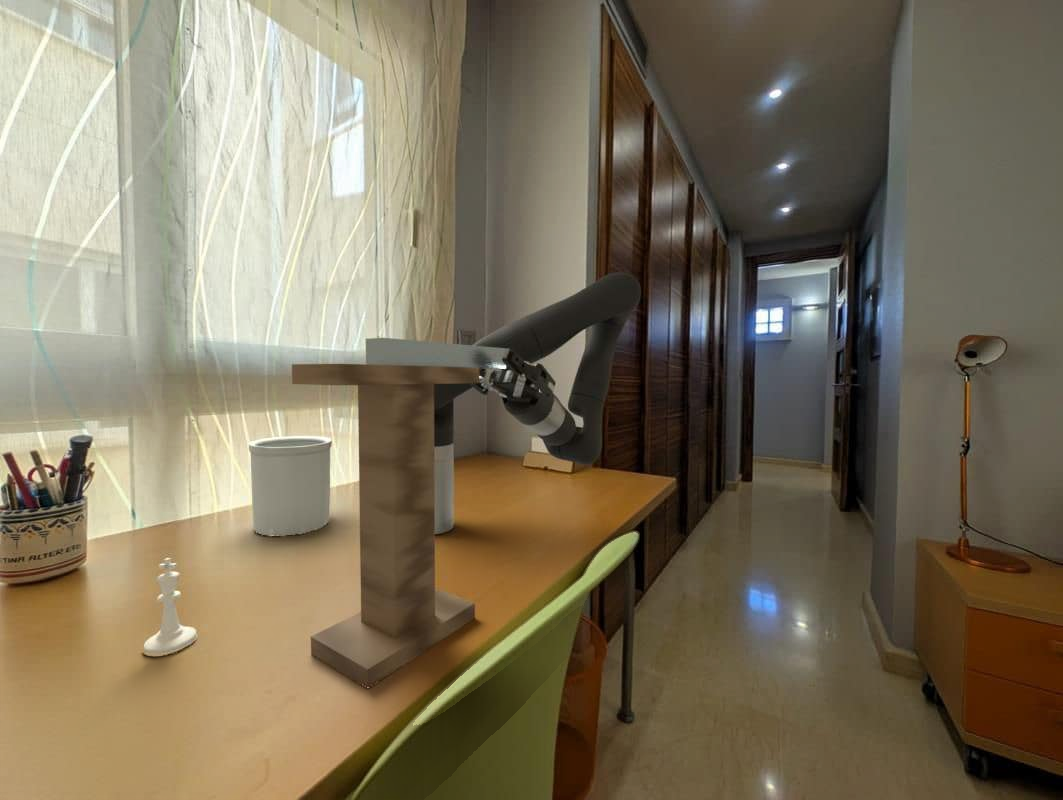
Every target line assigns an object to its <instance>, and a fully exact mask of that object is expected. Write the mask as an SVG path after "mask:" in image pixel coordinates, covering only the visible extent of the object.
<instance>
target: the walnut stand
mask: <svg viewBox="0 0 1063 800" xmlns="http://www.w3.org/2000/svg"><path fill="white" fill-rule="evenodd" d="M291 383H292V385H310V386H313V385H315V386H316V385H317V386H357V406H358V407H357V408H358V410H357V412H358V413H357V416H358V417H357V419H358V421H357V422H358V423H357V424H358V481H359V482H358V483H359V484H358V487H359V490H358V491H359V495H358V496H359V498H358V499H359V500H358V501H359V547H360V548H359V557H360V558H359V559H360V560H359V563H360V565H359V566H360V612H358V613H355V614H353V615H352V616H350V617H348V618H346V619H344V620H342V621H339V622H338V623H336V624H334V625H333V624H332V625H331V626H330V627H328V628H327V627H326V629H324V630H320V631H318V632H317V633H315V634H313V635H311V636H310V655H312V656H313V657H315V658H317V660H320V661H322V662H323V663H325V664H326V665H329V667H331V668H333V669H335V670H336V671H338V672H339V673H341V674H343V675H344V676H346V677H347V676H348V677H347V678H349V677H350V679H351V680H352V679H354V680H355V681H354V680H353V681H354V682H356V681H357V682H359V683H361V684H363V685H364V686H366V687H370V686H371V685H373V684H375V683H376V682H378V681H379V682H381V681H382V680H384V679H385V678H384V677H386V676H387V677H389V676H390V675H391V673H392V674H393V673H395V672H396V671H398V670H399V669H401V668H402V667H403V666H406V665H407V664H408V663H410V662H412V661H413V660H414V659H416V658H417V657H419V656H420V655H422V654H423V653H425V652H426V651H427V650H429V649H430V648H432V647H434V646H435V645H437V644H438V643H440V642H441V641H443V640H444V639H446V638H447V637H448V636H451V635H452V634H453V633H455V632H456V631H458V630H460V629H461V628H462V627H464V626H465V625H467V624H468V623H470V622H472V621H473V620H474V619H475V618H476V602H473V601H470V600H468V599H465V598H462V597H461V596H457V595H456V594H451V593H449V592H447V591H444V590H441V589H438V588H436V565H435V564H436V562H435V561H436V559H435V558H436V553H435V552H436V551H435V549H436V548H435V547H436V546H435V545H436V541H435V540H436V538H435V537H436V534H435V494H434V384H457V383H479V368H475V367H438V366H402V365H366V363H365V364H363V363H361V364H359V363H311V364H310V363H308V364H307V363H306V364H304V363H301V364H300V363H298V364H295V363H294V364H293V363H292V364H291ZM406 663H407V664H406ZM401 666H402V667H401ZM400 667H401V668H400ZM398 668H399V669H398ZM397 669H398V670H397ZM394 671H395V672H394ZM388 675H389V676H388ZM387 677H386V678H387ZM383 678H384V679H383ZM381 679H382V680H381ZM380 680H381V681H380ZM357 682H356V683H357ZM379 682H378V683H379ZM359 683H358V684H359ZM376 684H377V683H376ZM376 684H375V685H376ZM364 686H363V687H364ZM373 686H374V685H373ZM370 688H371V687H370Z"/></svg>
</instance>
